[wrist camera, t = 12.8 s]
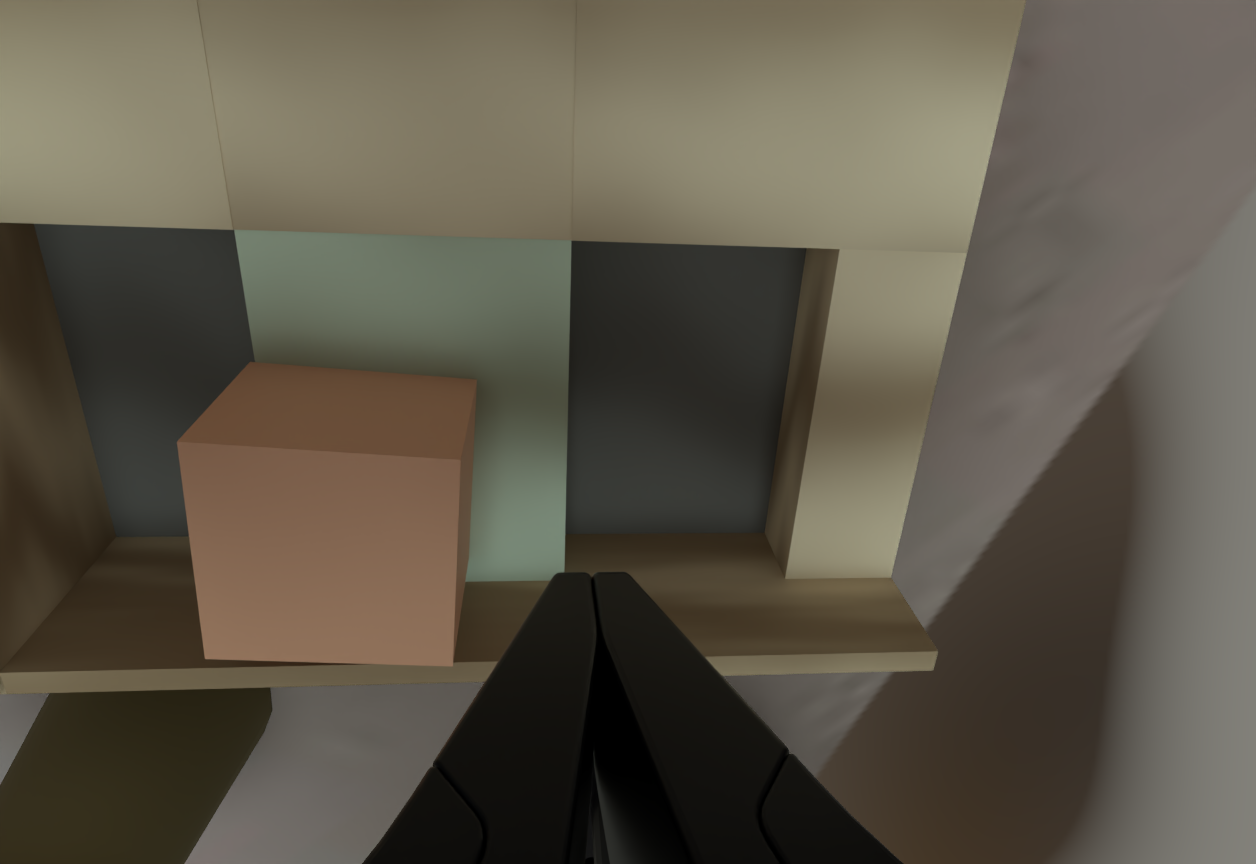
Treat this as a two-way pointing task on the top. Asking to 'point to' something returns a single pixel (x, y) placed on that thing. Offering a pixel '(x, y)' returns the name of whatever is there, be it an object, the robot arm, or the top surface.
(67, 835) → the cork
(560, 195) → the tray
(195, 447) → the block
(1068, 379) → the top surface
